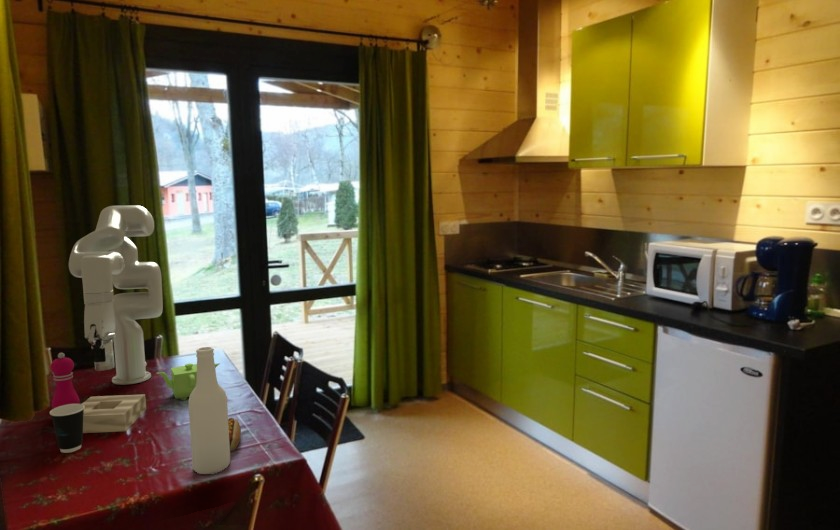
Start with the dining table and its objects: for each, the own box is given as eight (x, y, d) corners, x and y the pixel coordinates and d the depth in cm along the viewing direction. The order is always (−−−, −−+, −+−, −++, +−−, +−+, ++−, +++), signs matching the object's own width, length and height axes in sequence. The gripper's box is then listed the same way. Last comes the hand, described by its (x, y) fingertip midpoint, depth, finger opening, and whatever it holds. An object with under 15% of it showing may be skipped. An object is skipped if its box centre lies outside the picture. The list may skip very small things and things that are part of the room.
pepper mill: (67, 422, 170) (61, 356, 167) (46, 420, 171) (40, 355, 169) (86, 413, 177) (80, 350, 174) (66, 411, 179) (60, 348, 176)
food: (221, 433, 162) (220, 416, 161) (241, 431, 163) (241, 414, 163) (217, 455, 149) (216, 437, 148) (240, 452, 150) (239, 434, 149)
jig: (92, 412, 178) (91, 396, 177) (146, 409, 179) (145, 394, 179) (66, 433, 162) (64, 416, 161) (125, 431, 164) (124, 414, 163)
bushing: (97, 364, 172) (95, 331, 170) (121, 364, 172) (119, 330, 171) (87, 372, 165) (84, 337, 164) (112, 371, 166) (109, 336, 164)
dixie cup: (50, 457, 148) (46, 416, 146) (56, 445, 155) (52, 406, 153) (86, 452, 151) (82, 411, 149) (89, 440, 158) (86, 401, 156)
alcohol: (225, 475, 138) (218, 353, 134) (187, 476, 137) (179, 354, 133) (234, 458, 147) (228, 343, 143) (198, 459, 146) (191, 344, 142)
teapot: (157, 400, 187) (155, 369, 186) (182, 387, 200) (180, 357, 199) (200, 403, 184) (198, 371, 183) (222, 389, 197) (220, 359, 196)
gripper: (98, 292, 174) (103, 351, 176) (70, 304, 157) (76, 368, 160) (124, 292, 175) (128, 350, 177) (99, 303, 158) (105, 367, 160)
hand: (104, 358), depth 168 cm, fingers closed on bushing, 5 cm apart
